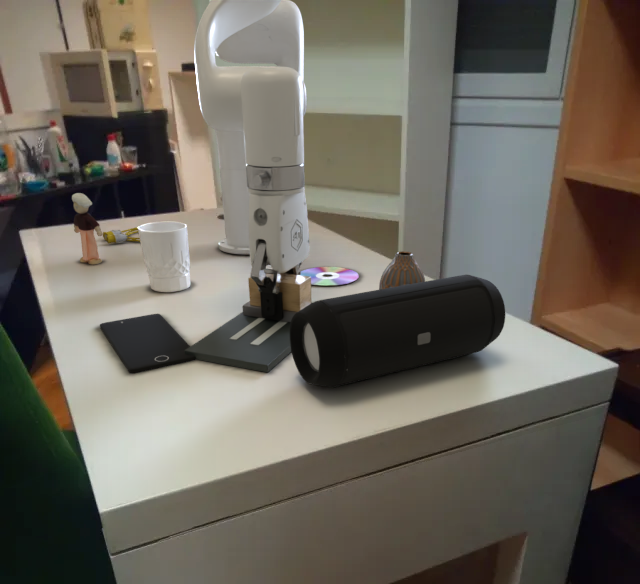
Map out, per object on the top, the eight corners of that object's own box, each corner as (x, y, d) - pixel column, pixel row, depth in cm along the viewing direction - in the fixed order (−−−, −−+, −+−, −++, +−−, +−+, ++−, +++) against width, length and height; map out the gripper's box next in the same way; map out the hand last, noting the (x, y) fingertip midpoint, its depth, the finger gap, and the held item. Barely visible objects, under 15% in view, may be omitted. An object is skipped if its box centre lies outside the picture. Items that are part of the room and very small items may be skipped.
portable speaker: (324, 407, 65) (324, 320, 60) (287, 372, 73) (284, 293, 67) (503, 361, 75) (516, 283, 70) (454, 334, 82) (462, 263, 77)
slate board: (263, 303, 94) (263, 297, 93) (334, 313, 90) (334, 307, 89) (185, 357, 77) (184, 349, 76) (267, 372, 72) (267, 364, 72)
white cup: (183, 295, 98) (175, 233, 93) (139, 292, 99) (128, 231, 94) (201, 280, 104) (194, 222, 99) (159, 278, 106) (150, 220, 101)
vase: (427, 305, 93) (432, 249, 88) (418, 321, 87) (423, 261, 82) (384, 301, 94) (386, 245, 90) (373, 316, 89) (375, 257, 84)
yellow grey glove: (105, 233, 136) (104, 224, 135) (175, 229, 139) (174, 220, 138) (101, 246, 125) (99, 236, 124) (177, 241, 129) (176, 232, 128)
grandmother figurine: (70, 262, 115) (54, 193, 108) (84, 257, 118) (69, 190, 111) (102, 266, 112) (88, 196, 106) (115, 261, 115) (102, 192, 109)
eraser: (242, 315, 86) (240, 278, 84) (258, 304, 90) (256, 268, 87) (305, 324, 83) (304, 286, 80) (319, 313, 87) (319, 276, 84)
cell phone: (130, 377, 73) (129, 370, 72) (100, 329, 86) (98, 323, 86) (199, 362, 76) (198, 355, 76) (159, 318, 90) (159, 312, 89)
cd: (372, 277, 105) (372, 276, 105) (323, 290, 99) (323, 289, 99) (331, 263, 113) (331, 263, 113) (283, 274, 107) (283, 274, 107)
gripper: (272, 191, 69) (278, 336, 79) (327, 171, 83) (327, 297, 92) (216, 187, 72) (229, 329, 81) (278, 168, 85) (283, 291, 95)
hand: (281, 310), depth 86 cm, fingers closed on eraser, 5 cm apart
